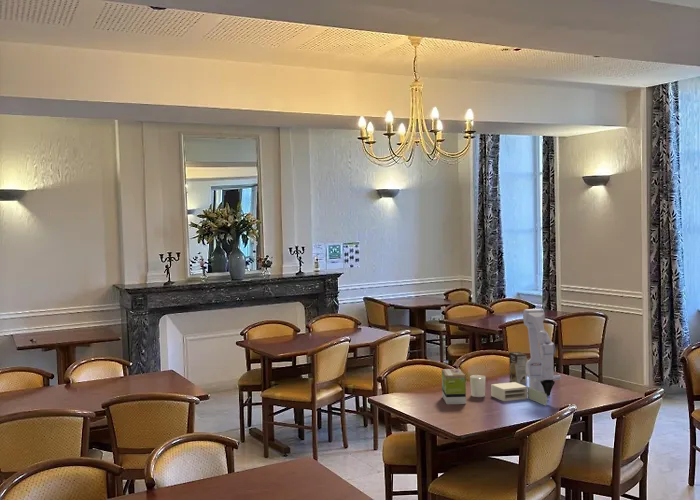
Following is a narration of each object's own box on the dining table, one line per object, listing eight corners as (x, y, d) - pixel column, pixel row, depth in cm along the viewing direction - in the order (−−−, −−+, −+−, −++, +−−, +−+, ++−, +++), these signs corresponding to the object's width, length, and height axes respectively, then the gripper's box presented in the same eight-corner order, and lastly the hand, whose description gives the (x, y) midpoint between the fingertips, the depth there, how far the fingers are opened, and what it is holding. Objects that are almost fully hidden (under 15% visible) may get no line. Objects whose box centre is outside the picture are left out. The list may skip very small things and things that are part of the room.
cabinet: (514, 393, 355) (514, 382, 355) (527, 398, 344) (527, 386, 344) (491, 395, 351) (491, 384, 351) (503, 401, 340) (503, 389, 340)
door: (527, 398, 344) (527, 387, 344) (530, 397, 344) (530, 387, 344) (545, 405, 330) (545, 394, 330) (548, 405, 330) (548, 393, 330)
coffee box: (509, 380, 385) (508, 352, 384) (519, 379, 386) (519, 351, 386) (516, 384, 376) (516, 355, 376) (527, 383, 378) (527, 354, 377)
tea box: (441, 397, 350) (441, 368, 350) (461, 396, 350) (460, 368, 350) (446, 404, 335) (445, 374, 335) (466, 404, 335) (466, 374, 335)
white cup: (485, 397, 347) (485, 378, 347) (470, 397, 349) (469, 377, 348) (485, 394, 355) (485, 375, 354) (470, 393, 356) (470, 374, 356)
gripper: (539, 370, 329) (539, 398, 329) (564, 368, 333) (565, 395, 334) (531, 367, 335) (531, 395, 336) (556, 365, 340) (556, 392, 340)
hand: (547, 395), depth 335 cm, fingers closed
